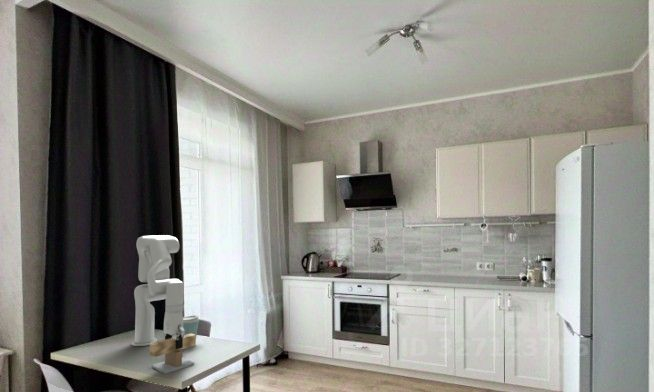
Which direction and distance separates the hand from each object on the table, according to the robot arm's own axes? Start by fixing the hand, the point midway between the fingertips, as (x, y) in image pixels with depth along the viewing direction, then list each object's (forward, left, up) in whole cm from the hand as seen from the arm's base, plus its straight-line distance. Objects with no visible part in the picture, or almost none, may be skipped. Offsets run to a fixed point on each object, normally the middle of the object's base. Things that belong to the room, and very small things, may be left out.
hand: (173, 346), depth 176 cm
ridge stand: (0, 0, -9) cm, 9 cm away
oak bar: (0, 0, -2) cm, 2 cm away
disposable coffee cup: (-22, +20, -9) cm, 31 cm away
